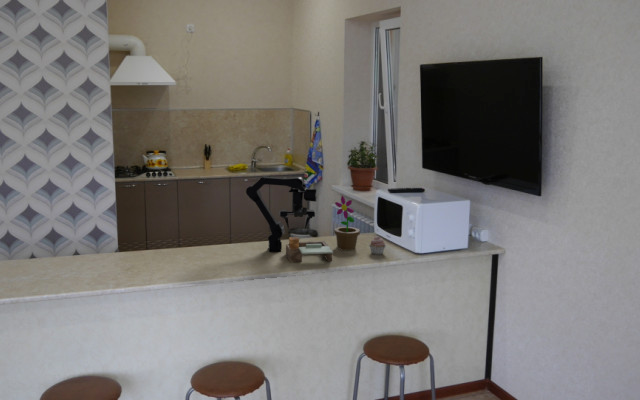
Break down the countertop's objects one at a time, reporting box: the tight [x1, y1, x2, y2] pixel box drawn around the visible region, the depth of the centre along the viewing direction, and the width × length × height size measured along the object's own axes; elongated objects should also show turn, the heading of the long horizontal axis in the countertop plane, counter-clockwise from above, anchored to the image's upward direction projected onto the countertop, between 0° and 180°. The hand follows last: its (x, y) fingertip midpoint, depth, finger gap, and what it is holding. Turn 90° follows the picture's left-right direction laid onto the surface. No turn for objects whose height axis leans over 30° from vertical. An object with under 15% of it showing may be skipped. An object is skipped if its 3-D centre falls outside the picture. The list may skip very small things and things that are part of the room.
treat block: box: [288, 236, 300, 249], centre depth 306 cm, size 4×4×5 cm
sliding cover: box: [298, 244, 334, 255], centre depth 301 cm, size 16×10×2 cm, turn 103°
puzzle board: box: [285, 240, 333, 263], centre depth 311 cm, size 22×18×6 cm
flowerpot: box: [333, 195, 361, 251], centre depth 327 cm, size 14×14×30 cm
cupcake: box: [368, 235, 387, 256], centre depth 320 cm, size 9×9×10 cm
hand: (296, 228), depth 316 cm, fingers open, 9 cm apart
